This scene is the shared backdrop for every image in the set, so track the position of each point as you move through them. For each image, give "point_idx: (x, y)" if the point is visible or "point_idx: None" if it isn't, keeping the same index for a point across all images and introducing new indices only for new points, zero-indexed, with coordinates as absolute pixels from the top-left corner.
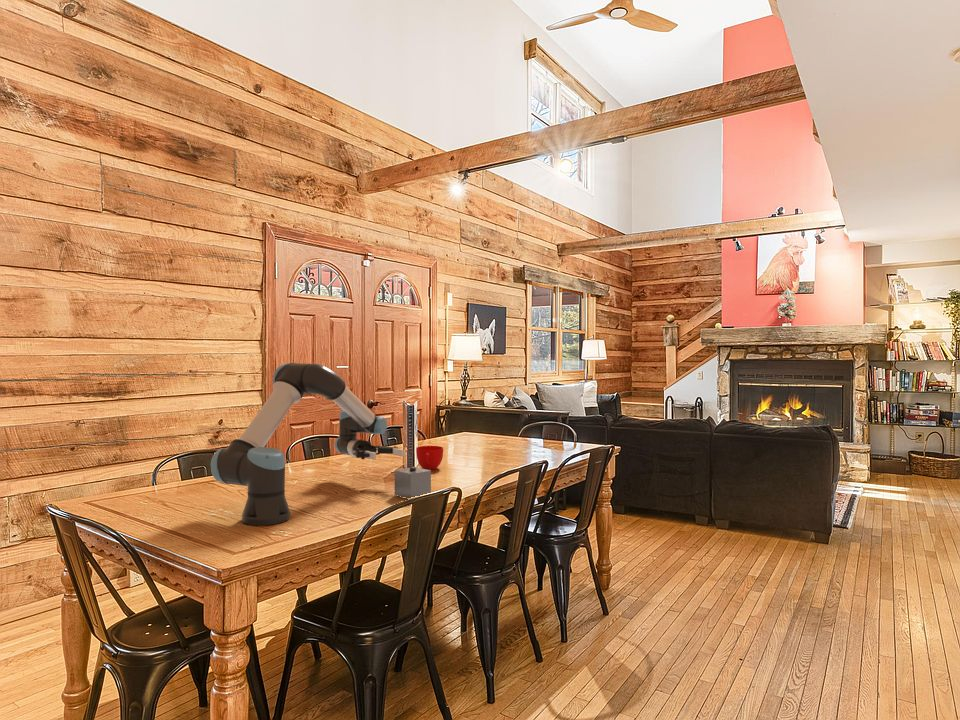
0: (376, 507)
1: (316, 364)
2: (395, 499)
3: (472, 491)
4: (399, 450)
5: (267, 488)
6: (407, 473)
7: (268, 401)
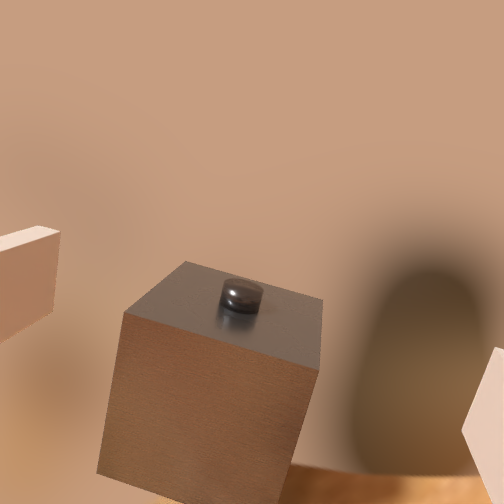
0: None
1: None
2: (326, 486)
3: None
4: (15, 261)
5: None
6: (321, 311)
7: None
